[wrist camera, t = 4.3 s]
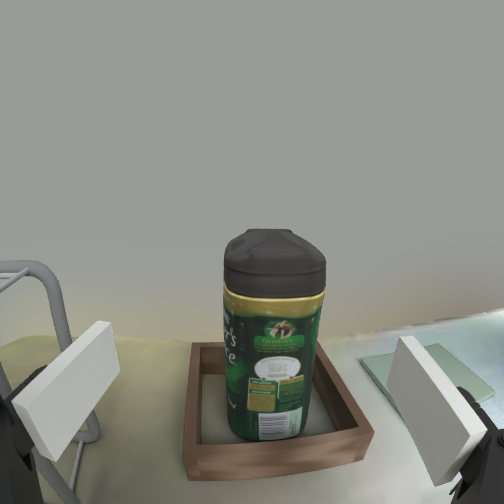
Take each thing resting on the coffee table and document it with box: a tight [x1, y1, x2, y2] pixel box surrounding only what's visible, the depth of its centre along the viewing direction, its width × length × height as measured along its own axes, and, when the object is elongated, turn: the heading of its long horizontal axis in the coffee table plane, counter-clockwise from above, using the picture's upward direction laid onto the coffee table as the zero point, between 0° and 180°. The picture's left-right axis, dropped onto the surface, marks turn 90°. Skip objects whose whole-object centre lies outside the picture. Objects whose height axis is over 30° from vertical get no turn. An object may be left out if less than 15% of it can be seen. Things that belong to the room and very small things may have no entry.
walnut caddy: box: [182, 341, 374, 481], centre depth 27 cm, size 15×17×4 cm
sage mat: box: [361, 343, 495, 417], centre depth 30 cm, size 14×14×1 cm
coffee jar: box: [223, 229, 326, 442], centre depth 26 cm, size 10×8×19 cm
